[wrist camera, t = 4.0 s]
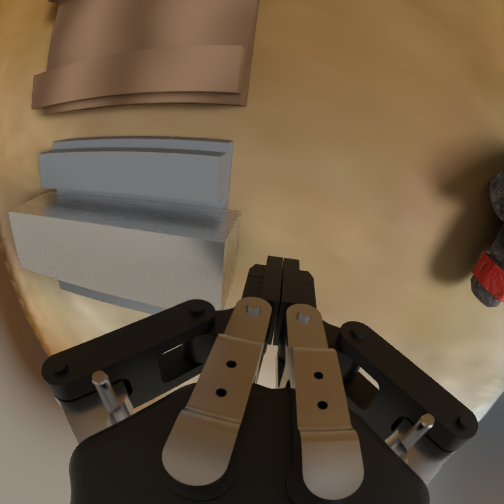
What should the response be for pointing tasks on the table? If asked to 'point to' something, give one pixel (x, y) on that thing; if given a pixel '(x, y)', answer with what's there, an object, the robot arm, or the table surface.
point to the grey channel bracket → (139, 177)
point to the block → (130, 246)
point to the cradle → (147, 53)
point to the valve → (492, 255)
